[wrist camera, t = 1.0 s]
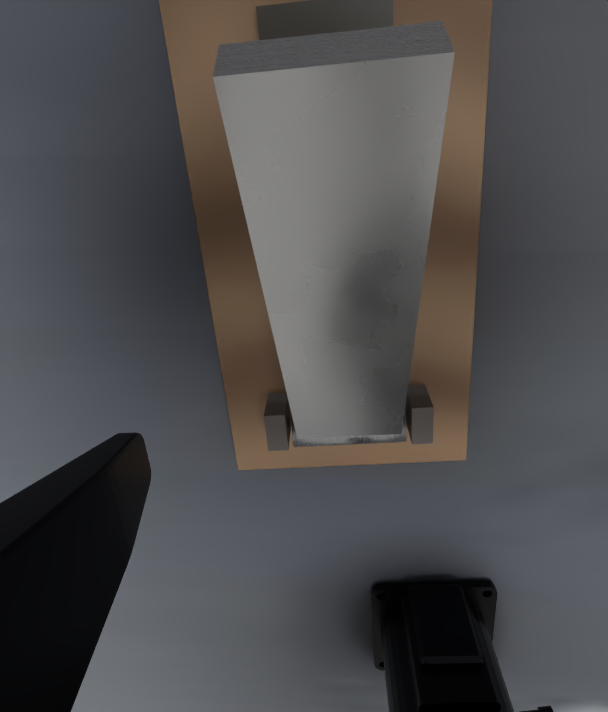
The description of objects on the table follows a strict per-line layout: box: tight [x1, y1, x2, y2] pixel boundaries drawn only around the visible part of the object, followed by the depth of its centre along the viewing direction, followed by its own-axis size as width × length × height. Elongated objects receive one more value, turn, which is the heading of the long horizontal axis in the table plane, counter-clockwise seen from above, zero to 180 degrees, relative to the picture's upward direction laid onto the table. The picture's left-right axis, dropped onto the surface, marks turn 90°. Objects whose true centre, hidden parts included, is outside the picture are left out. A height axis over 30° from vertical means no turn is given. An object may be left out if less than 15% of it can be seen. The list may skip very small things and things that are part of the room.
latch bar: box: [213, 21, 455, 447], centre depth 15 cm, size 15×4×1 cm, turn 6°
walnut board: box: [159, 0, 492, 470], centre depth 18 cm, size 20×10×3 cm, turn 5°
